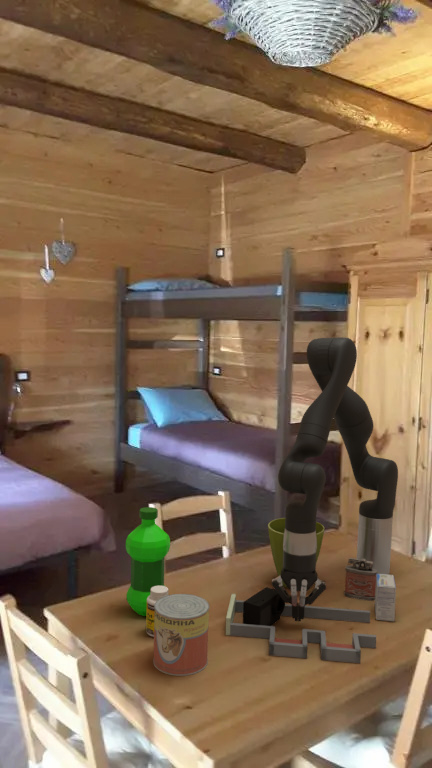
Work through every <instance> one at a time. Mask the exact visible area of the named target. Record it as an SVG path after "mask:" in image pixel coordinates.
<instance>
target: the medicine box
mask: <svg viewBox="0 0 432 768" xmlns="http://www.w3.org/2000/svg"><path fill="white" fill-rule="evenodd" d="M396 591H397V586H396V581H395V575H393V574H389V575H388V574H376V587H375V600H374V612H375V620H378V621H385V622H395V618H396V617H395V616H396V615H395V614H396V613H395V612H396V598H397V596H396V594H397V592H396Z"/></svg>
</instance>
